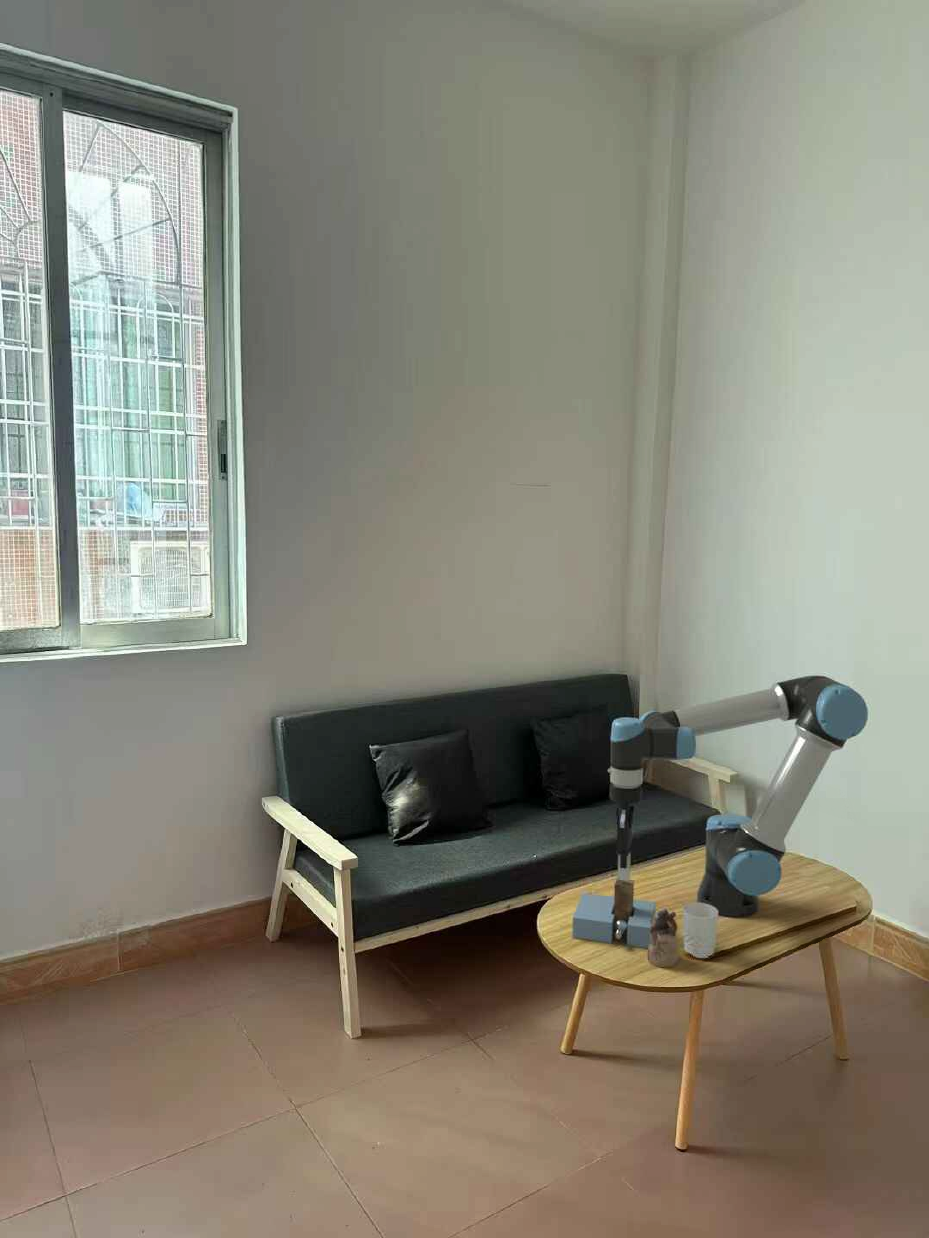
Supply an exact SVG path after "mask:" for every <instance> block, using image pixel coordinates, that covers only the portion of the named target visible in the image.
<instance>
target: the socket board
mask: <svg viewBox="0 0 929 1238" xmlns="http://www.w3.org/2000/svg"><path fill="white" fill-rule="evenodd" d="M655 913H656V901H652V900H651V901H650V900H642V899H634V898H633V917H629V921H628V925H627V934H626V945H627V946H628V947H629V946H630V947H637V948H645V949H648V947H649V942H650V937H651V934H652V933H651V932H650V929H651V923H650V921H651V920H652V919H653V917H654V914H655ZM614 937H615V932H614V896H611V895H603V894H596V893H595V894H594V893H587V892H582V893H581V896H580V899H579V901H578V904H577V907H576V908H575V912H574V914H573V916H572V938H573V939H580V940H587V941H588V940H589V941H592V942H593V941H594V942H600V943H601V942H603V943H609V944H613V943H612V942H613V939H614Z"/></svg>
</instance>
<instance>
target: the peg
mask: <svg viewBox="0 0 929 1238" xmlns="http://www.w3.org/2000/svg"><path fill="white" fill-rule="evenodd" d="M634 886H635V880H634V879H629V881H625V880H618V877H617V878H616V880H615V883H614V895H613V897H614V933H616V929H615V923H616V921H618V920H624V921H625V922H626V923H627V925H628V921H629V917H633V902H634V895H635V893H634V892H635V891H634V890H635V887H634ZM623 934H624V935H627V930H626V931H625V932H624V933H622V935H623Z"/></svg>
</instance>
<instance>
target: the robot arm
mask: <svg viewBox="0 0 929 1238" xmlns="http://www.w3.org/2000/svg"><path fill="white" fill-rule="evenodd" d="M868 715H869V710H868V707H867V703H866V701H865V699H864V698H863V696H862V695H861V694H860V693H859V692H858V691H856V690H855V689H853V688H852V687H850V686H849V685H845V684H843V683H840V681H839V682H838V681H836V680H834V679H832V678H830V677H828V676H825V675H807V676H803V677H797V678H793V679H788V680H787V679H786V680H784V681H779V682H774V683H773V684H772V686H771V687H770V688H768V689H763V690H759V691H753V692H748V693H745V694H741V695H737V696H732V697H727V698H723V699H718V700H714V701H710V702H705V703H701V704H696V705H692V706H688V707H683V708H679V709H674V710H670V711H669V710H668V711H664V712H661V711H657V710H650V711H647V712H644V713H643V714H642V715H641V716H640V718H636V717H627V716H626V717H624V716H623V717H619V718H616V719H614V720H613V721H612V723H611V731H610V737H609V738H610V768H608V769H607V772H608V773H609V774H610V775H609V776H610V784H609V800H611V801H612V802H614V803H617V807H616V811H615V816H616V821H615V822H616V829H617V830H616V831H617V833H616V834H617V835H616V836H617V838H616V839H617V847H616V848H617V850H615V852H614V854H615V855H617V878H618V880H625V881H629V880H631V879H630V878H631V852H632V853H633V852H634V848H633V847H631V846H632V844H633V843H632V836H633V835H632V834H633V823H634V814H635V812H636V811H635V810H636V809H635V805H634V804H636V805H637V804H638V803H640V802H642V799H643V786H642V784H643V783H644V782H643V781H644V776H643V775H644V764H643V763H644V760H652V761H653V760H658V761H659V760H663V761H666V760H667V761H669V760H670V761H671V760H672V761H674V760H675V761H682V760H691V759H693V758H694V757H695V754H696V751H697V739H696V737H700V736H705V735H709V734H713V733H718V732H724V731H727V730H732V729H737V728H741V727H745V726H746V727H747V726H749V725H754V724H759V723H763V722H768V721H772V720H776V719H778V720H781V721H783V722H786V721H792V720H795V723H794V727H795V731H796V735H795V736H794V739H793V741H792V743H790V746H789V748H788V749H787V752H786V753H785V755H784V758H783V759H782V761H781V763H780V765H779V767H778V768H777V771H776V772H775V774H774V776H773V778H772V780H771V781H770V783H769V785H768V787H767V789H766V791H765V792H764V794H763V795H762V798H761V800H760V802H759V803H758V805H757V807H756V809H755V810H754V813H753V815H752V817H751V818H750V817H748V816H744V815H739V814H723V813H722V814H716V815H712V816H710V817H709V818H707V821H706V828H705V832H706V833H705V834H706V835H705V836H706V837H705V867H704V868H705V870H704V874H703V877H702V879H701V881H700V884H699V887H698V889H697V892H696V893H697V894H696V901H697V902H696V903H705V904H709V905H711V906H713V907H715V908H716V909H717V910H718V916H724V917H730V918H731V917H732V918H733V917H735V918H737V917H738V918H739V917H747V916H750V915H753V914H756V912H758V911H759V904H760V903H759V902H760V901H759V896H761V895H765V894H768V893H770V892H772V891H773V890H774V889H776V887H777V886H778V884H779V883H780V881H781V879H782V874H783V872H782V865H781V863H780V862H782V861H781V860H782V859H783V857H784V856H785V854H786V851H787V848H786V844H785V838H787V835H788V833H789V831H790V829H791V828H792V825H794V823H795V820H796V818H797V817H798V815H799V813H800V811H801V809H802V808H803V806H804V803H805V802H806V800H807V798H808V797H809V795H810V793H811V791H812V789H813V787H814V786H815V783H816V782H817V780H818V779H819V777H820V775H821V772H822V771H823V769H824V767H825V765H826V763H827V761H829V758H830V756H831V754H832V753H833V752H835V751H839V750H842V749H843V748H844V746H845V743H846V742H847V740H848V739H849V740H850V739H851V738H853V737H856V736H858V735H859V734H861V732H862V731H863V730H864V729H865V727H866V725H867V722H868V717H869V716H868Z"/></svg>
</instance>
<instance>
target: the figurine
mask: <svg viewBox="0 0 929 1238" xmlns="http://www.w3.org/2000/svg"><path fill="white" fill-rule="evenodd" d="M676 916H677V913H676V912H675V911H672V912H670V913H669V911H668V909H666V908H661V909H659V910H657V911H655V914H654V917H653V919H652V920H651V921H650V923H651V929H650V932H651V933H652V934H651V937H650V942H649V947H648V948H647V952H646V957H647V961H648V962H647V963H649V964H650V965H651V966H655V967H658V968H672V967H675V966H677V965H678V964H679V961H680V947H679V941H678V938H677V937H678V936H677V933H676V932H677V930H678V925H677V920H675V917H676Z"/></svg>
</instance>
